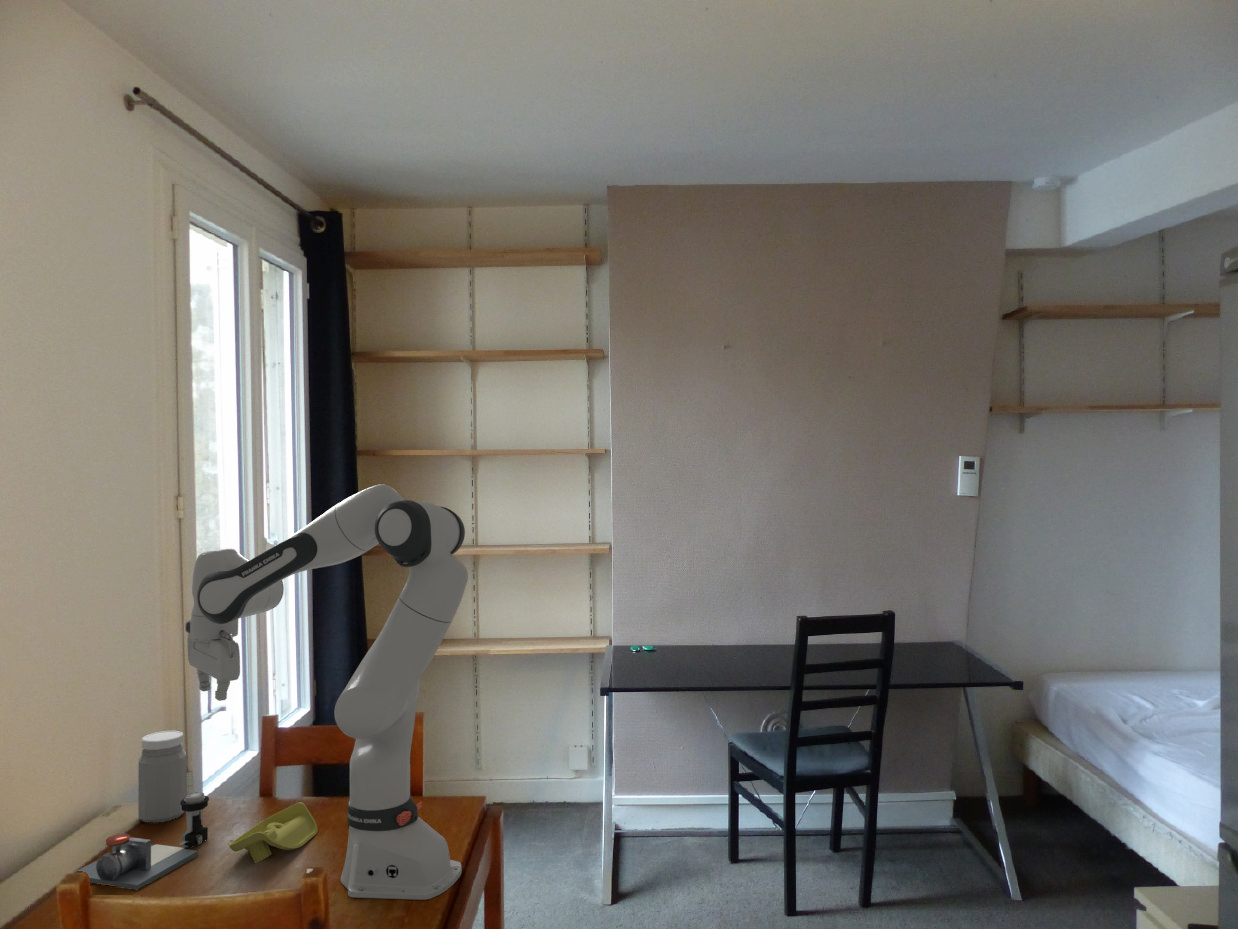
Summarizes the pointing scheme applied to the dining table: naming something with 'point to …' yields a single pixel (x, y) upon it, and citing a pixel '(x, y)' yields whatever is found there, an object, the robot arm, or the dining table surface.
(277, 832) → the plastic component
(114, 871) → the fitting
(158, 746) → the jar
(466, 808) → the dining table surface
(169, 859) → the board
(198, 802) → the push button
